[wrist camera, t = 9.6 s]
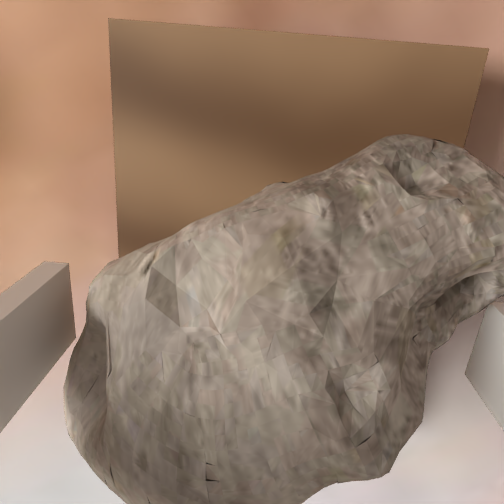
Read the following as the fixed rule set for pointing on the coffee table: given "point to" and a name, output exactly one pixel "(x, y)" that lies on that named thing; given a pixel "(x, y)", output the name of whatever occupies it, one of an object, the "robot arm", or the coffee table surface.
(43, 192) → the coffee table surface
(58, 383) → the coffee table surface
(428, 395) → the coffee table surface
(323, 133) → the stand
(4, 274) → the coffee table surface
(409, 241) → the stone
